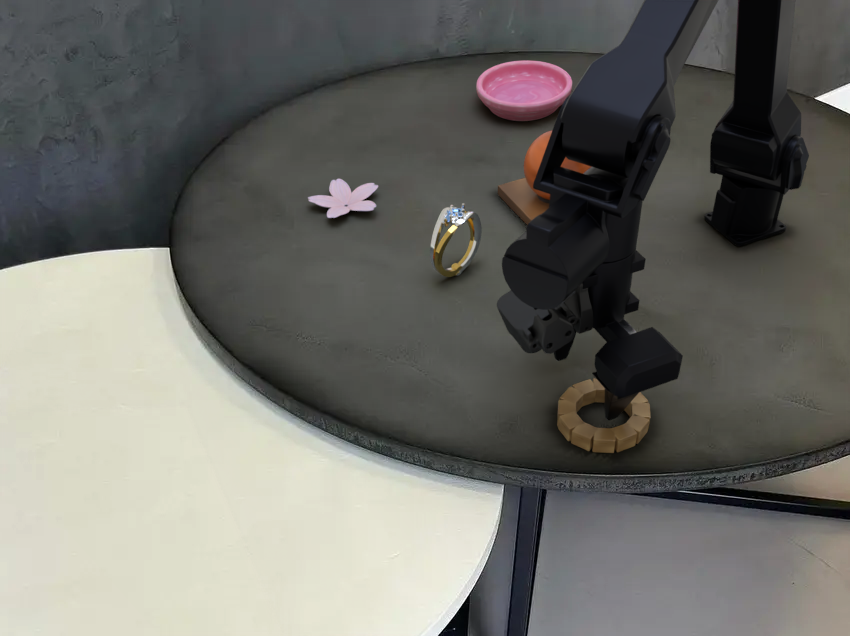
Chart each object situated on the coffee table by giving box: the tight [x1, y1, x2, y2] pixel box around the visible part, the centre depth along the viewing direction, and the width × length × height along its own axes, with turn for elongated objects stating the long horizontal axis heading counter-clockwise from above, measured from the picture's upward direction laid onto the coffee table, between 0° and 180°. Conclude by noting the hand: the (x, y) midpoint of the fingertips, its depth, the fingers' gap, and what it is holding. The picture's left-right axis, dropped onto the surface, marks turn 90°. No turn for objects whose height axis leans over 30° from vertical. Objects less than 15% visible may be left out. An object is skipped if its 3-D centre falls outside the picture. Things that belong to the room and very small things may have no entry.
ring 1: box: [429, 202, 483, 278], centre depth 104 cm, size 7×3×8 cm, turn 132°
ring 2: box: [556, 377, 652, 454], centre depth 90 cm, size 8×8×2 cm
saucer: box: [476, 59, 573, 122], centre depth 130 cm, size 12×12×3 cm
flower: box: [307, 177, 379, 219], centre depth 116 cm, size 10×10×2 cm
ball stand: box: [497, 129, 591, 226], centre depth 112 cm, size 10×10×9 cm
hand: (585, 387), depth 92 cm, fingers open, 9 cm apart
